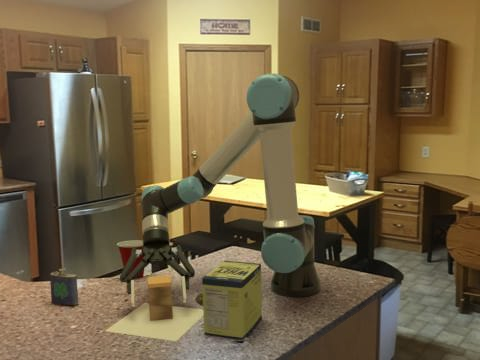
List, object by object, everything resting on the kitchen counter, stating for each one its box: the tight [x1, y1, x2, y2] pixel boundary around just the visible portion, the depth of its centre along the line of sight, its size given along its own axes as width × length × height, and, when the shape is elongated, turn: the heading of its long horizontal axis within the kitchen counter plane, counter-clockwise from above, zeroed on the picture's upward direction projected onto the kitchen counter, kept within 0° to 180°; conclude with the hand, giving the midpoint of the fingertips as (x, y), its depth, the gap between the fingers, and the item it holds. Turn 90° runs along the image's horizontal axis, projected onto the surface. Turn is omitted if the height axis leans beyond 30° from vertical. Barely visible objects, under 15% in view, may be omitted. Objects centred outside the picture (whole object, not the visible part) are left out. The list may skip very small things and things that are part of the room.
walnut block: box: [147, 275, 173, 321], centre depth 141 cm, size 6×6×10 cm
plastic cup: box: [116, 239, 145, 280], centre depth 178 cm, size 11×11×12 cm
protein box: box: [201, 260, 263, 344], centre depth 134 cm, size 10×16×16 cm
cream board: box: [104, 302, 204, 342], centre depth 139 cm, size 20×20×1 cm
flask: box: [49, 268, 79, 307], centre depth 154 cm, size 9×3×11 cm, turn 68°
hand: (159, 302), depth 140 cm, fingers open, 13 cm apart
